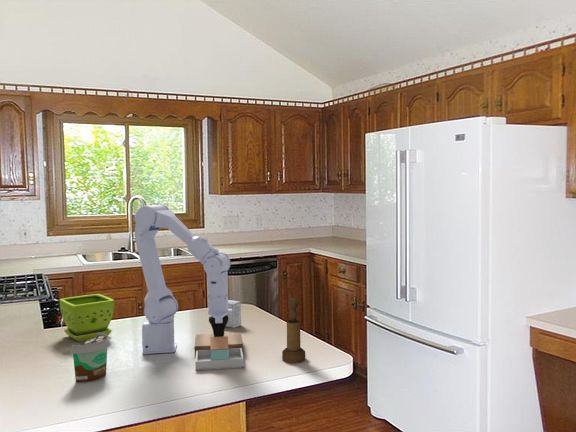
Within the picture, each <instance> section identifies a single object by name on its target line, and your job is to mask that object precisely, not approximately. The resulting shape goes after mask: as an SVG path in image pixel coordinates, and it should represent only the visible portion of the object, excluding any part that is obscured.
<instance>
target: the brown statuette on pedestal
mask: <svg viewBox="0 0 576 432" xmlns="http://www.w3.org/2000/svg"><path fill="white" fill-rule="evenodd" d="M299 302H300V301H299V299H298V297H296V296H291V297H289V298H288V300H287V305H288V306H289V308H290V311H289V314H288V315H289V319H288V320H286V347H285V348H284V349H283V350H282V351H281V354H282V355H281V360H282V361H283V362H285V363H288V364H297V363H298V364H299V363H304V362H305V361H304V360H306V350H305V349H303V348H302V347H301V320H300V319H297V317H298V312H297V307H298V306H299Z"/></svg>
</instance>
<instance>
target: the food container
mask: <svg viewBox="0 0 576 432" xmlns="http://www.w3.org/2000/svg"><path fill="white" fill-rule="evenodd" d="M110 345H111V342H110V338H109V335H108V336H107V335H106V334H104V333H97V336H96V337H94V338H92V339H89V340H86V341H82V342H81V343H80V344H71V352H70V354H72V357H73V367H74V378H75V383H78V384H79V383H89V382H95V381H98V380H101V379H103V378H104V377H106V375H107V366H108V365H107V363H108V362H107V361H108V347H109V346H110Z"/></svg>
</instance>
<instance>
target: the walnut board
mask: <svg viewBox="0 0 576 432" xmlns="http://www.w3.org/2000/svg"><path fill="white" fill-rule="evenodd" d="M224 336H228V348H242V352H243V353H244V342H243V337H242V332H239V331H238V332H224ZM210 337H214V333H202V334H201V333H200V334H195V337H194V338H195V339H194V359H196V350H210V349H211V347H210Z"/></svg>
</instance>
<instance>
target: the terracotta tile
mask: <svg viewBox="0 0 576 432" xmlns="http://www.w3.org/2000/svg"><path fill="white" fill-rule="evenodd" d="M210 347H211V350H228V336H224V337H210Z"/></svg>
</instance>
